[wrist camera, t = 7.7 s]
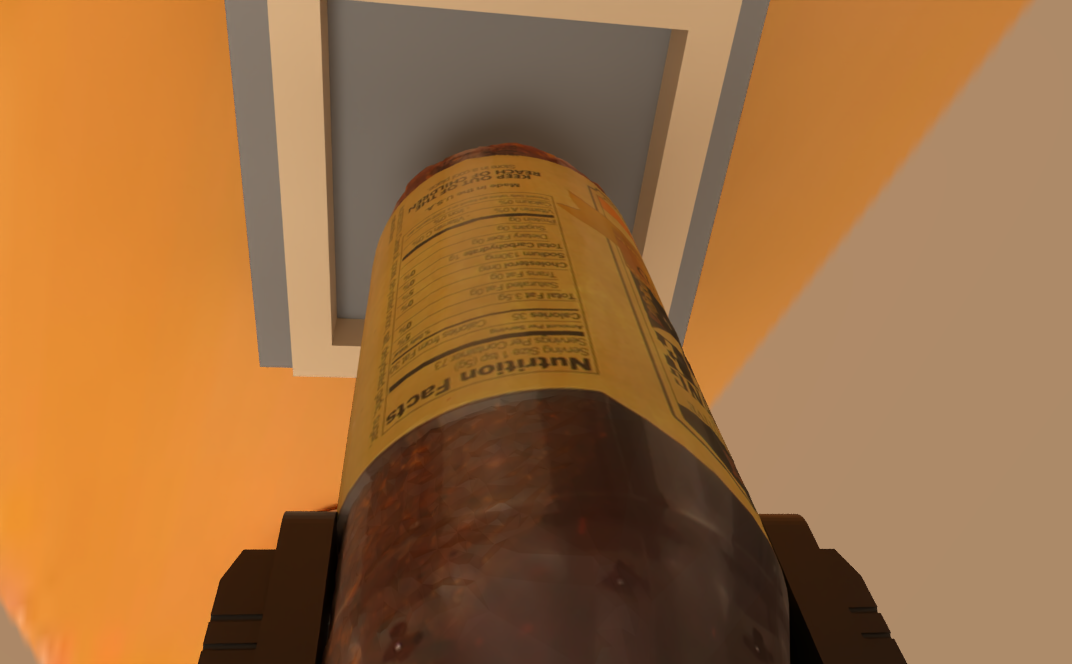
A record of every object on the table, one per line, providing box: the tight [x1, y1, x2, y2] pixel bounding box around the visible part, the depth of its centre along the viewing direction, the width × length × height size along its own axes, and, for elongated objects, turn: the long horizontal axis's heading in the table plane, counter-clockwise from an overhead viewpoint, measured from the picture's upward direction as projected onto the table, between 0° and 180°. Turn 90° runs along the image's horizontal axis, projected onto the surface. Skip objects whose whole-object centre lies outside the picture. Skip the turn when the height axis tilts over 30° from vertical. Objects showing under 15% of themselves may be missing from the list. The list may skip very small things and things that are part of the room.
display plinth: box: [225, 0, 770, 378], centre depth 25 cm, size 14×14×6 cm
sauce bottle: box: [321, 143, 790, 664], centre depth 13 cm, size 7×6×20 cm
